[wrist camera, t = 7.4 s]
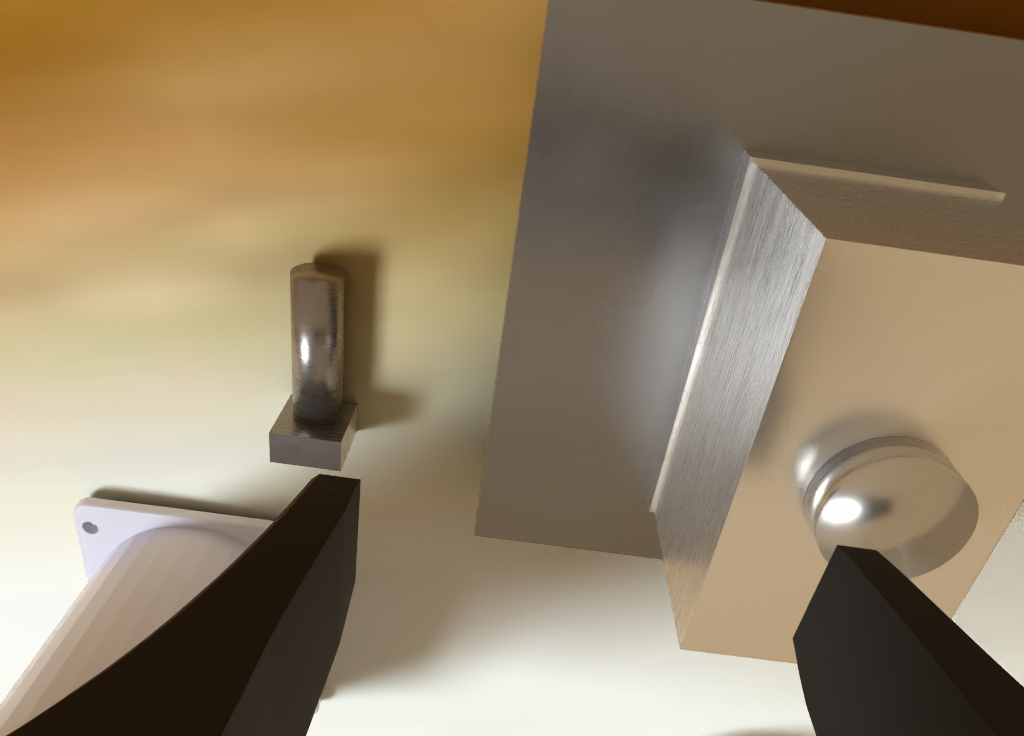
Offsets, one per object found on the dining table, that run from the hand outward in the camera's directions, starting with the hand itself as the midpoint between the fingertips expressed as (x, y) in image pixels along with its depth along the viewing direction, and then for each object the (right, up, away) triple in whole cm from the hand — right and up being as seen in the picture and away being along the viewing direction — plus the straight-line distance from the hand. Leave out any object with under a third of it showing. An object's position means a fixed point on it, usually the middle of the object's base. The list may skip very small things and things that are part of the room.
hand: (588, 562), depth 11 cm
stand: (+6, +5, +9) cm, 12 cm away
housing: (+6, +3, +6) cm, 9 cm away
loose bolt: (-6, +4, +10) cm, 13 cm away
